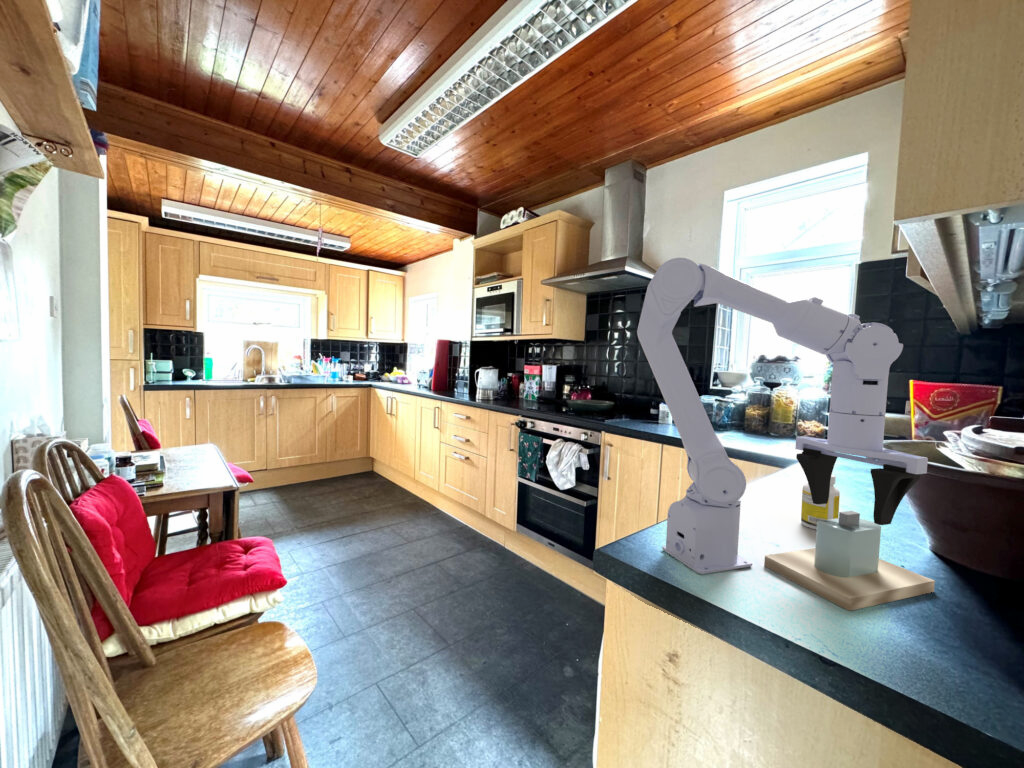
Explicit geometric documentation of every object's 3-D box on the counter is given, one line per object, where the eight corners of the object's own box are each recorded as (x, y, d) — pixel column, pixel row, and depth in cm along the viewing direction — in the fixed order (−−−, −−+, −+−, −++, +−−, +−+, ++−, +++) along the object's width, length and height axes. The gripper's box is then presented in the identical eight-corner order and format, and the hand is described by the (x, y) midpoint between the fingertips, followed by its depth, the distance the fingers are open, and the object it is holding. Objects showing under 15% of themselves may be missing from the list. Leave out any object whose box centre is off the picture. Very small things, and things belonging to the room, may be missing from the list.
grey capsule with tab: (838, 579, 51) (842, 521, 51) (807, 564, 55) (810, 510, 55) (885, 570, 54) (889, 515, 54) (852, 557, 58) (856, 505, 58)
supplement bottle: (824, 522, 76) (827, 471, 75) (845, 533, 70) (848, 479, 70) (794, 520, 76) (797, 469, 76) (812, 531, 71) (816, 477, 70)
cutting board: (848, 610, 47) (849, 598, 47) (764, 565, 57) (764, 555, 57) (933, 591, 52) (934, 580, 52) (841, 553, 62) (842, 544, 62)
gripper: (946, 420, 48) (937, 531, 49) (821, 407, 62) (815, 494, 62) (909, 421, 46) (900, 537, 46) (787, 407, 60) (781, 497, 60)
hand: (849, 512), depth 54 cm, fingers open, 7 cm apart
